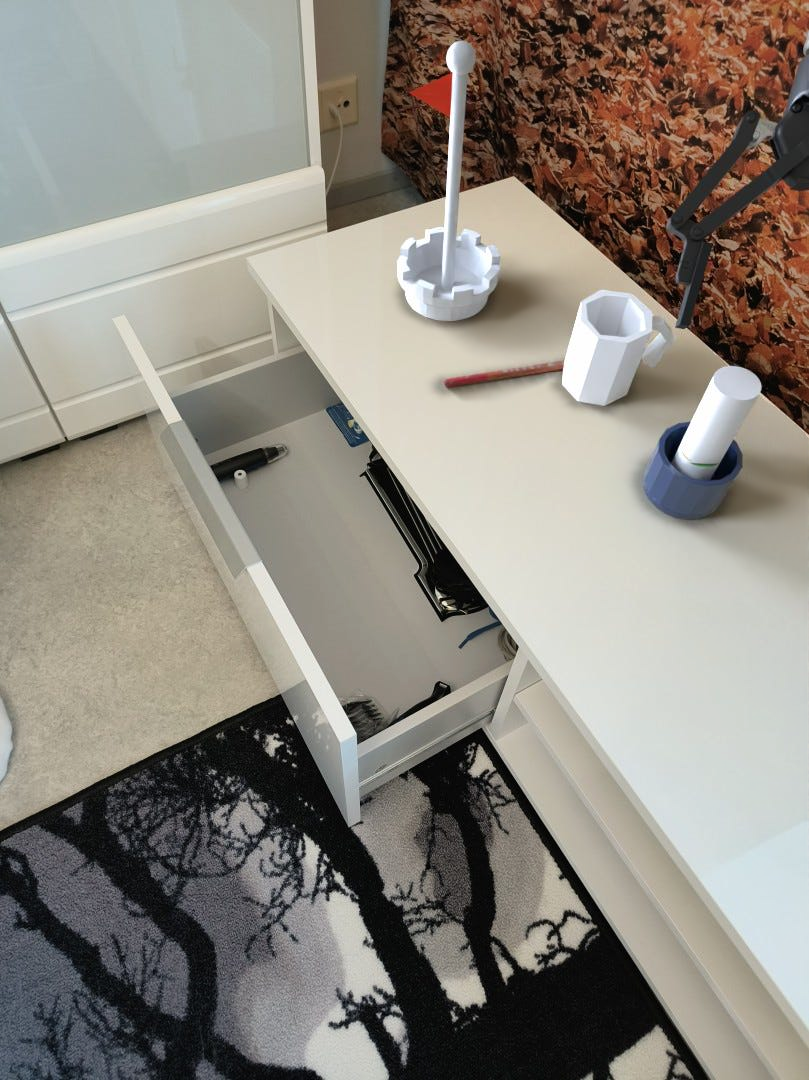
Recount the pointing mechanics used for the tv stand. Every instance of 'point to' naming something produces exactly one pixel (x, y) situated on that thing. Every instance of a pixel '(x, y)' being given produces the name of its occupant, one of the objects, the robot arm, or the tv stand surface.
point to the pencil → (504, 374)
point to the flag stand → (449, 220)
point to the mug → (611, 346)
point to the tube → (716, 422)
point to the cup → (687, 479)
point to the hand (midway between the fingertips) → (765, 343)
